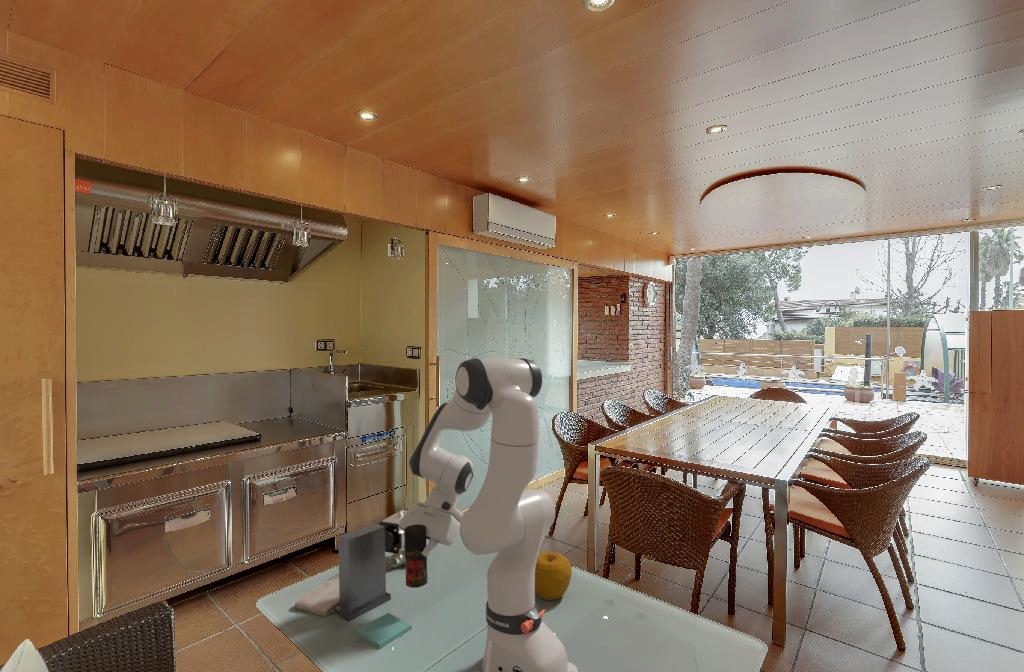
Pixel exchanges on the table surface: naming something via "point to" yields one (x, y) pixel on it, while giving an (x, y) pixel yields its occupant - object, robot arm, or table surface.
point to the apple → (552, 575)
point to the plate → (383, 630)
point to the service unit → (361, 571)
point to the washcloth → (321, 598)
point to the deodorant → (415, 556)
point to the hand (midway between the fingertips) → (414, 552)
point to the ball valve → (395, 538)
